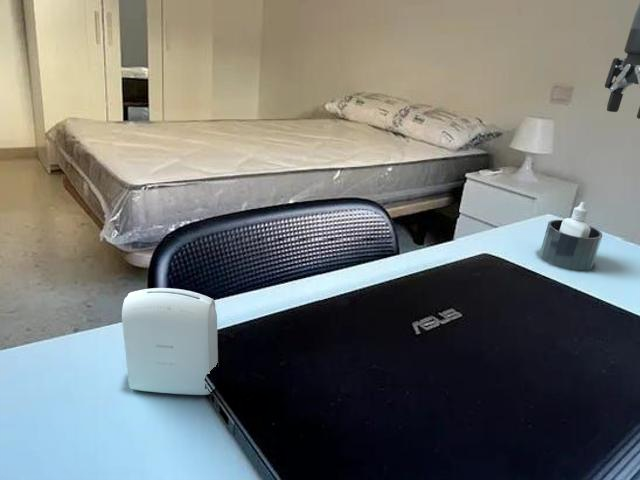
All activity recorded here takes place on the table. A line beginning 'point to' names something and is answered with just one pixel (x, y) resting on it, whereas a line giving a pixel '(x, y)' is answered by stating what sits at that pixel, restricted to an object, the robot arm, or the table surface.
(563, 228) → the eye dropper bottle
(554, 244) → the desk tube
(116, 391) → the table surface
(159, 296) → the photo printer
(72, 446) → the table surface
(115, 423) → the table surface
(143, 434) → the table surface
